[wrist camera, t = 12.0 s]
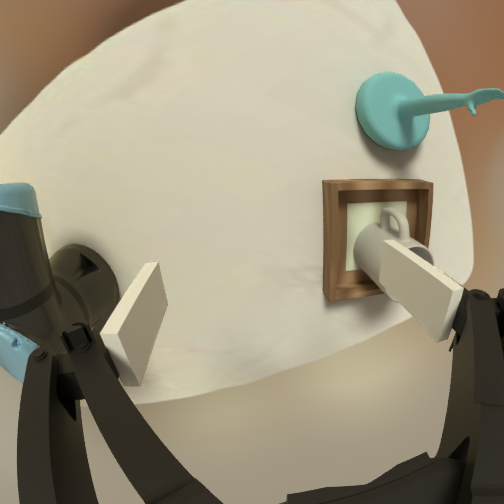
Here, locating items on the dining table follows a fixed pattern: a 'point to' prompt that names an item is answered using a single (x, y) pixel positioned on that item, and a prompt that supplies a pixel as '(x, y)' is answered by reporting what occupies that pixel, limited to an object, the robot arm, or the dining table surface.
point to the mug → (372, 243)
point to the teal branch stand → (407, 109)
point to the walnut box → (357, 218)
